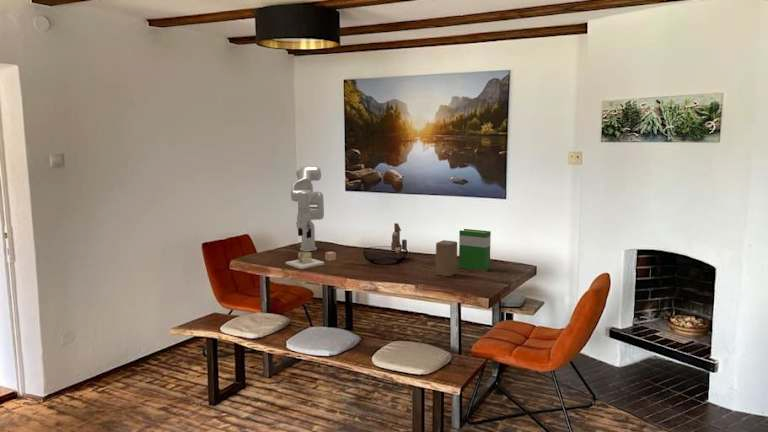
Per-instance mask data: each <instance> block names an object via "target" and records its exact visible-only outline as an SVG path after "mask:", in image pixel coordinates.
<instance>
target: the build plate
mask: <svg viewBox="0 0 768 432" xmlns="http://www.w3.org/2000/svg"><path fill="white" fill-rule="evenodd" d="M311 261H312V262H307V263H302V262H299V259H295V260H289V261H285V265H288V266H291V267H293V268H297V269H300V270H303V269H308V268H314V267H318V266H324V265H325V261H323V260H319V259H315V258H312V257H311Z"/></svg>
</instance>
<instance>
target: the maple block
mask: <svg viewBox="0 0 768 432" xmlns="http://www.w3.org/2000/svg"><path fill="white" fill-rule="evenodd" d="M297 254H298V255H297V256H298V260H299V262H302V263H307V262H312V261H311V258H312V252H311V251H301V252H298V253H297Z"/></svg>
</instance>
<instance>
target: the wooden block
mask: <svg viewBox="0 0 768 432" xmlns="http://www.w3.org/2000/svg"><path fill="white" fill-rule="evenodd" d="M457 273H458V242H457V241H453V240H445V239H443V240H441V241H438V242H436V243H435V275H436V274H437V276H440V275H443V276H442V277H447V276H451V277H453V276H454V274H455V275H457ZM452 275H453V276H452Z"/></svg>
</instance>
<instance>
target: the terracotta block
mask: <svg viewBox="0 0 768 432" xmlns="http://www.w3.org/2000/svg"><path fill="white" fill-rule="evenodd" d="M324 254H325V256H324V257H325V261H328V262H329V261H330V262H333V261H336V260H337V253H336V252H334V251H326V252H325V253H324Z"/></svg>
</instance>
